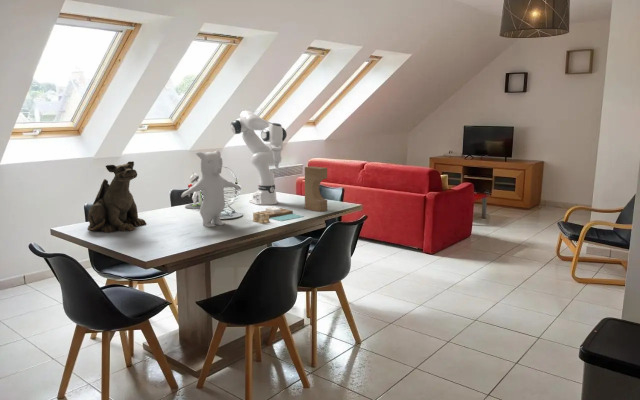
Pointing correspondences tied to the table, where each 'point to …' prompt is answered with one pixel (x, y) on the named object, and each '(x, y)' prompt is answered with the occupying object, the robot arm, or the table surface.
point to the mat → (286, 217)
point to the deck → (278, 213)
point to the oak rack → (261, 217)
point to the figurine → (195, 194)
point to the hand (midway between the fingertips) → (276, 167)
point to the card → (273, 210)
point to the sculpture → (115, 202)
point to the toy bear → (211, 188)
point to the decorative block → (314, 188)
